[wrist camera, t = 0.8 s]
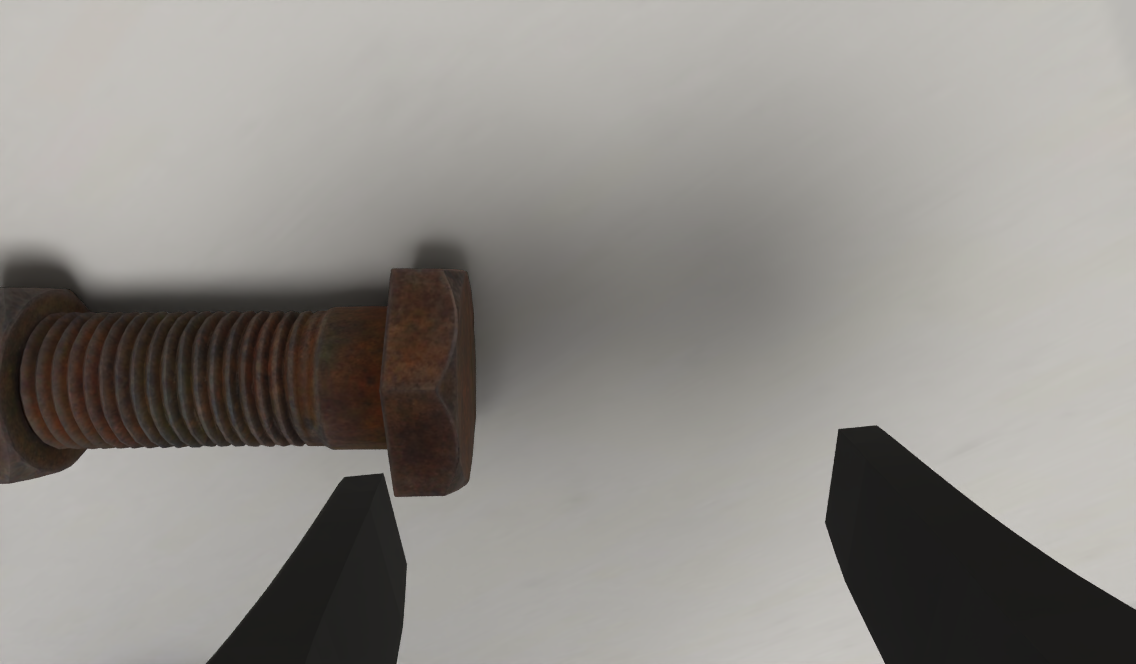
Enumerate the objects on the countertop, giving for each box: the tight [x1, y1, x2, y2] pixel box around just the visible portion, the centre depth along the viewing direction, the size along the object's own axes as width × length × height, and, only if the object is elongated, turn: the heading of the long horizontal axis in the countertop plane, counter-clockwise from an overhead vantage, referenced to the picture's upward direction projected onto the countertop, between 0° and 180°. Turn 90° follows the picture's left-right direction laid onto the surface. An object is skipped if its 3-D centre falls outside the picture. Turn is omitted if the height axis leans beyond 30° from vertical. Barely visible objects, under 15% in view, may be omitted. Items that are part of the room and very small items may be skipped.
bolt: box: [0, 268, 476, 497], centre depth 19 cm, size 6×5×15 cm
